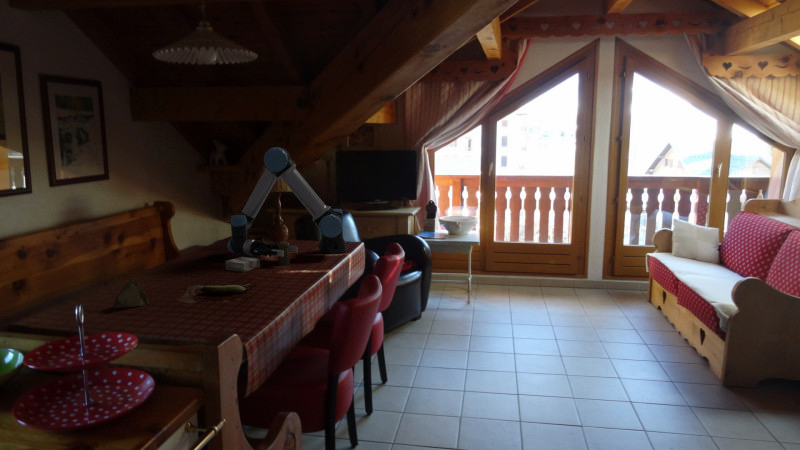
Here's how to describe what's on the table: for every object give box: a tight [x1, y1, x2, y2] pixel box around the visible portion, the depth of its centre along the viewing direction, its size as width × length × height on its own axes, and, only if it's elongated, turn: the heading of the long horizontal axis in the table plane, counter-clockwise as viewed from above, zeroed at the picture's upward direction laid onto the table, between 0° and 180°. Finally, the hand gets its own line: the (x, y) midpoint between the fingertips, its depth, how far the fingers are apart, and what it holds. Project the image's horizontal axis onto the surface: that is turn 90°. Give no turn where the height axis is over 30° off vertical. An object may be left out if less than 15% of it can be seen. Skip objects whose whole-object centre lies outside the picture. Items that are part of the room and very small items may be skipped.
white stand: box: [225, 256, 261, 273], centre depth 254 cm, size 11×11×4 cm
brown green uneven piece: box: [175, 283, 251, 304], centre depth 212 cm, size 35×27×4 cm
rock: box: [112, 280, 149, 309], centre depth 196 cm, size 11×9×10 cm
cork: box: [277, 240, 291, 266], centre depth 262 cm, size 6×6×11 cm
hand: (290, 251), depth 260 cm, fingers open, 10 cm apart
